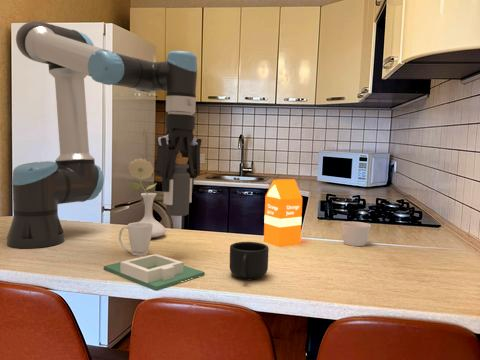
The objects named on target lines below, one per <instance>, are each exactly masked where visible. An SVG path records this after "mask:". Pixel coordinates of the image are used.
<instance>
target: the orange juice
mask: <svg viewBox="0 0 480 360" xmlns="http://www.w3.org/2000/svg"><path fill="white" fill-rule="evenodd" d="M264 197H265V198H264V199H265V200H264V202H265V203H264V217H263V219H264V221H263V222H264V226H263V242H264V243H267V244H270V245H272V246H276V247H278V248H279V247H280V248H281V247H286V246H287V247H288V246H292V245H293V246H294V245H300V244H301V242H302V241H301V237H302V236H301V235H302V234H301V233H302V219H303V217H302V213H303V196H302V194H301V192H300V189H299V187H298V183H297V182H296V179H295V178H288V179H287V178H286V179H285V178H284V179H273V180H272V182H271V185H270V186H269V188H268V189H267V192H266V194H265V196H264Z"/></svg>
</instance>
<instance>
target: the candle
mask: <svg viewBox="0 0 480 360" xmlns="http://www.w3.org/2000/svg"><path fill="white" fill-rule="evenodd" d="M371 227H372V225H371V224H370V223H366V222H361V221H342V222H341V229H342V230H341V232H342V241H343V243H344V244H345V245H347V246H351V247H352V246H353V247H364V246H366V245H367V244H368V239H369V235H370V232H371Z"/></svg>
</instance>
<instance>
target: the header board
mask: <svg viewBox="0 0 480 360" xmlns="http://www.w3.org/2000/svg"><path fill="white" fill-rule="evenodd" d="M103 270H105V271H106V272H109V273H112V274H114V275H117V276H119V277H121V278H124V279H127V280H129V281H132V282H135V283H137V284H139V285H142V286H144V287H146V288H150V289H152V290H154V291H159V290H163V289H165V288H168V286H169V287H171V286H170V285H172V286H174V285H173V284H175V285H177V284H176V283H179V282H181V281H185V280H188V279H191V278H195V277H198V278H200V277H199V276H201V277H204V276H205V271H202V270H199V269H196V268H194V267H190V266H187V265H184V262H183V261H179V260H177V259H174V258H171V257H168V256H164V255H161V254H158V253H154V254H149V255H148V254H147V255H143V256H140V257H136V258H131V259H127V260H124V261H123V260H122V261H120V262H115V263H111V264H106V265H103ZM203 275H204V276H203ZM195 279H196V278H195ZM191 280H192V279H191ZM188 281H189V280H188ZM185 282H186V281H185ZM179 284H180V283H179Z"/></svg>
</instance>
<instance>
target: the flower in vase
mask: <svg viewBox="0 0 480 360" xmlns="http://www.w3.org/2000/svg"><path fill="white" fill-rule="evenodd" d="M154 169H155V168H154V167H153V164H151V161H147V159H146V158H144V159H143V158H135V159H134V160H131V161H130V162H129V164H128V166H127V170H128V173H130V176H131V177H133V178H137V179H138V180H139V183H138V182H132V183H131V184H130V185H129V186H128V187H127V188H128V189H133V190H139V189H140V188H141V187H142V189H143V190H144V192H142V193H140V195H141V197H142V199H143V202H144V214H143V215H144V216H143V217H142V219H141V220H139V221H138V222H148V223H152V224H153V227H152V233H151V239H152V238H158V237H161V236H164V235H166V233H167V229H166V228H165V226H163V224H162V223H161V222H159V221H157V220H156V219H155V217H154V215H153V203H154V199H155V198H156V196H157V195H158V194H157V193H155V192H147V190H150V189H153V188H154V187H155V186H156V185H157V182H155V183H154V184H152V185H149V186H147V187H146V188H145V187H144V186H143V184H142V180H145V179H148V178H152V175H153V172H154V171H155V170H154Z"/></svg>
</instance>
